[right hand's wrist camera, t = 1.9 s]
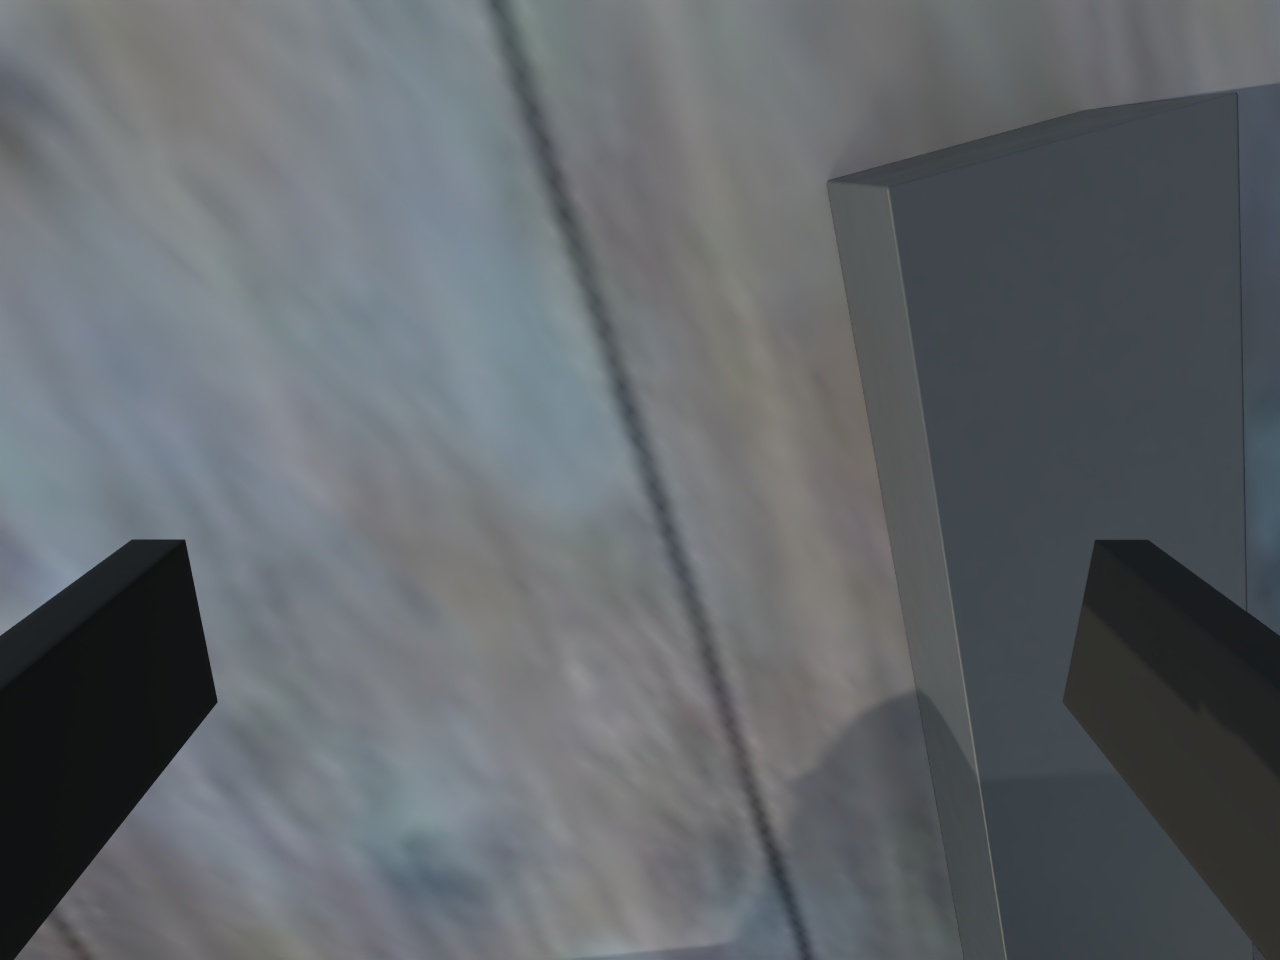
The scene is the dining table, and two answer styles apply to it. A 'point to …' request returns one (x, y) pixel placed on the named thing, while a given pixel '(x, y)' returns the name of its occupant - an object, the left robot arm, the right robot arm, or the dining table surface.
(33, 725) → the right robot arm
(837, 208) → the wide beam
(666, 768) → the dining table surface
